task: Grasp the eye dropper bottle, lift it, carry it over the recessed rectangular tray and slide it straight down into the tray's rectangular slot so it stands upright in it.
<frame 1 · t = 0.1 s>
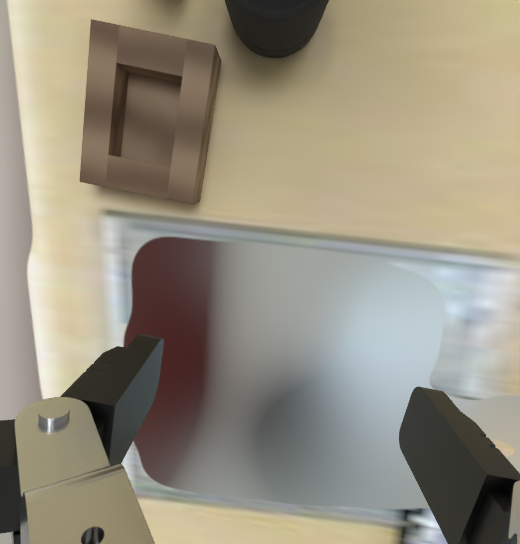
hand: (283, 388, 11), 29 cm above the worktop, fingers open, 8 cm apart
pen holder: (275, 10, 35), on the worktop
recessed rectangular tray: (157, 123, 37), on the worktop
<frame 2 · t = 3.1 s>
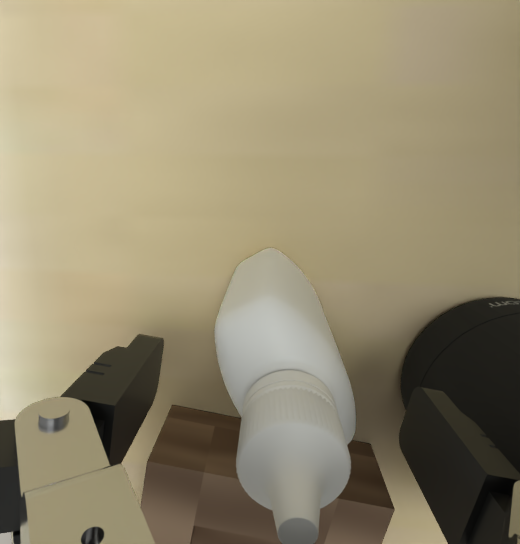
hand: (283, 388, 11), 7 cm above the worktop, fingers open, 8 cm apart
eye dropper bottle: (281, 300, 18), on the worktop
pen holder: (480, 372, 19), on the worktop, touching gripper
recessed rectangular tray: (247, 523, 21), on the worktop
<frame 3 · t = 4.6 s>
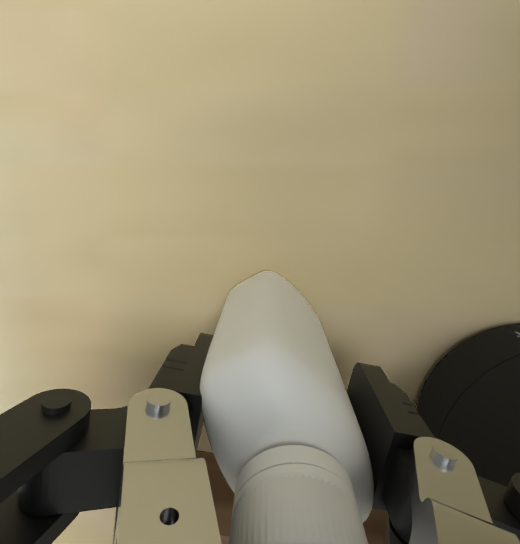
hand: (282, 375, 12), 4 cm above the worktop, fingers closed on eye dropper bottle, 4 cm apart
eye dropper bottle: (280, 327, 16), on the worktop, touching gripper
pen holder: (504, 404, 17), on the worktop
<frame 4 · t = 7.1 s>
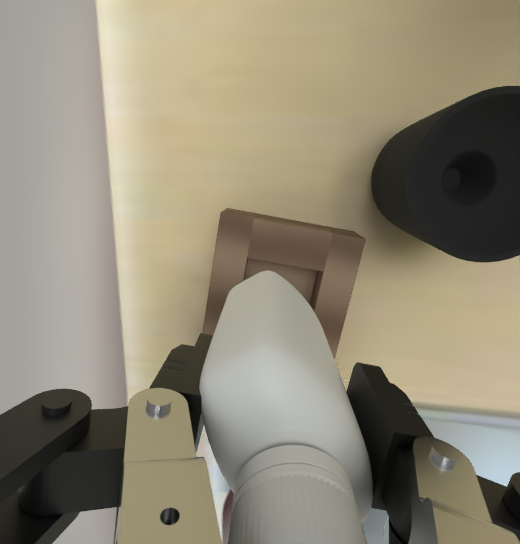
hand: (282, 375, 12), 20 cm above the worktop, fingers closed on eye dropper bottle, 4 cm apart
eye dropper bottle: (279, 327, 16), point 16 cm above the worktop, touching gripper
pen holder: (422, 178, 30), on the worktop
recessed rectangular tray: (275, 296, 32), on the worktop
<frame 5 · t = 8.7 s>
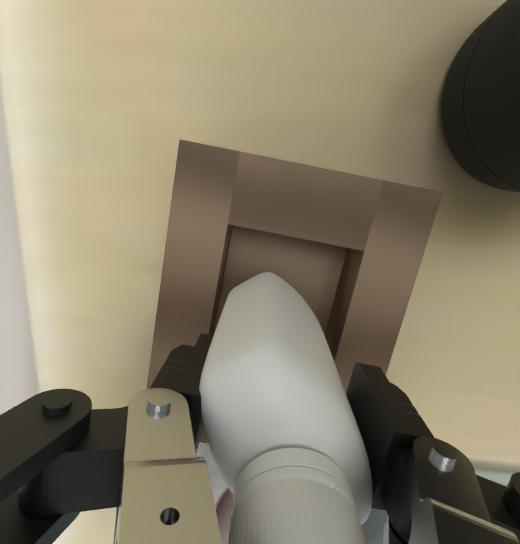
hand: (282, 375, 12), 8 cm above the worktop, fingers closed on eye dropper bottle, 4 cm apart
eye dropper bottle: (279, 328, 16), point 4 cm above the worktop, touching gripper
recessed rectangular tray: (275, 296, 20), on the worktop
when the fingers open (6 cm above the worktop, at t = 10.1 s): eye dropper bottle stays where it is, resting on recessed rectangular tray.
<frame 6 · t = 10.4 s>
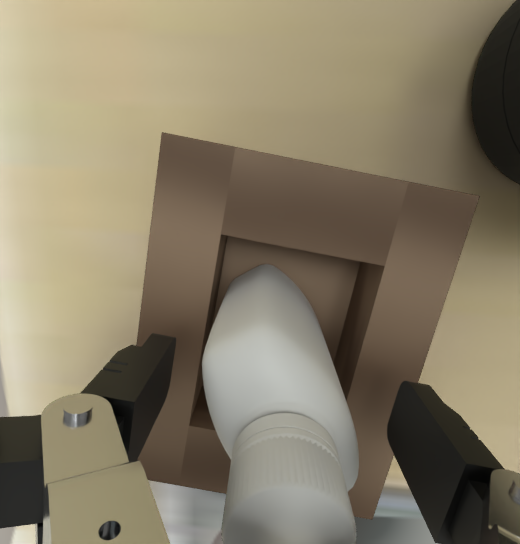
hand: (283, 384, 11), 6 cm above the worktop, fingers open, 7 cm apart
eye dropper bottle: (277, 318, 17), point 1 cm above the worktop, touching recessed rectangular tray
recessed rectangular tray: (277, 314, 18), on the worktop
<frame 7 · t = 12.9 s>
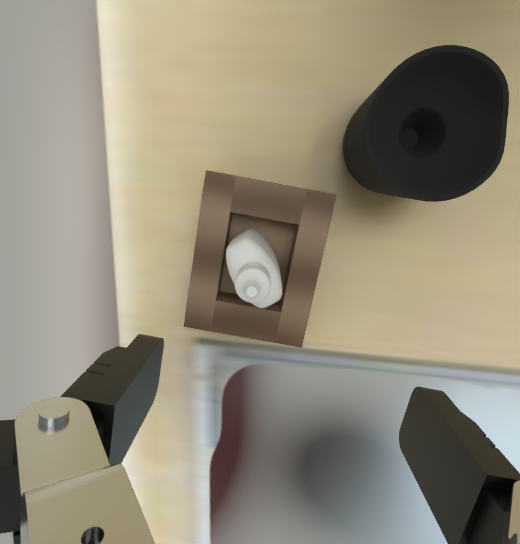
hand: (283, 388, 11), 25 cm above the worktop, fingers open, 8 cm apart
eye dropper bottle: (256, 256, 34), point 1 cm above the worktop, touching recessed rectangular tray
pen holder: (388, 145, 33), on the worktop
recessed rectangular tray: (257, 255, 35), on the worktop
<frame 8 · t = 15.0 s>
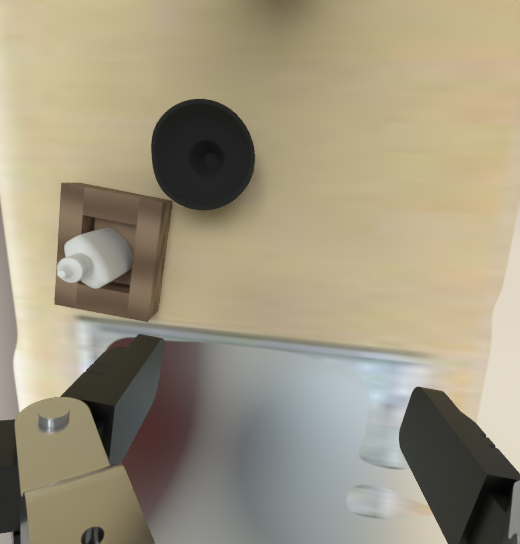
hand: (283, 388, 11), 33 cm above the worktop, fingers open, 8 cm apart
eye dropper bottle: (117, 249, 43), point 1 cm above the worktop, touching recessed rectangular tray
pen holder: (217, 163, 42), on the worktop
recessed rectangular tray: (120, 249, 44), on the worktop
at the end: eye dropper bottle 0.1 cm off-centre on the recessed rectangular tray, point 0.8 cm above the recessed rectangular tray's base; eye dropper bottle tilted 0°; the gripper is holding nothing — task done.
